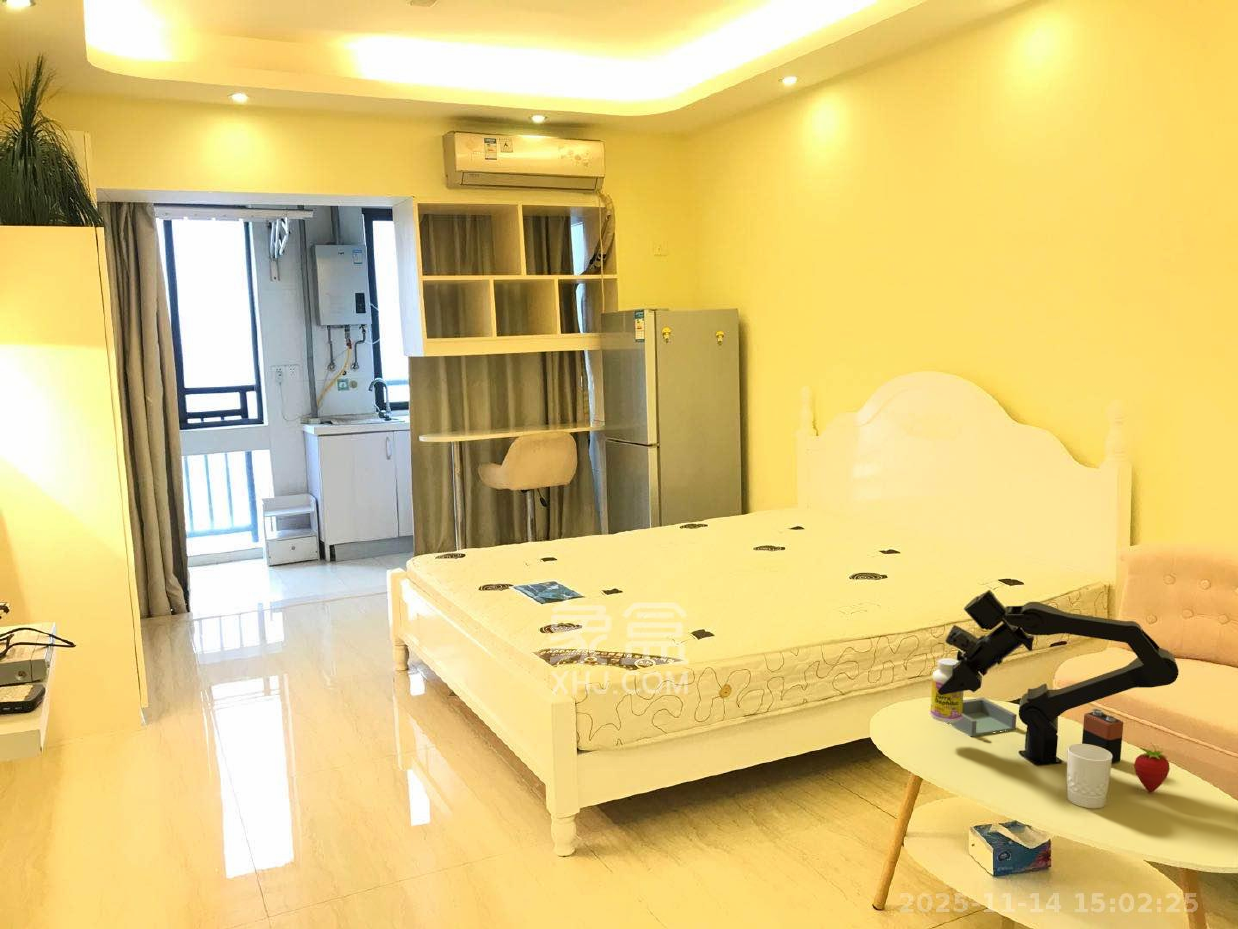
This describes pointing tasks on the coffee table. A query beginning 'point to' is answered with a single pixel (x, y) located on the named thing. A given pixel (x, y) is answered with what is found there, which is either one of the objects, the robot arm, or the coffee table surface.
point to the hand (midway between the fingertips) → (940, 687)
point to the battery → (1103, 732)
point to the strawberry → (1151, 769)
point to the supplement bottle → (947, 704)
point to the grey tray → (984, 718)
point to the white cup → (1088, 775)
